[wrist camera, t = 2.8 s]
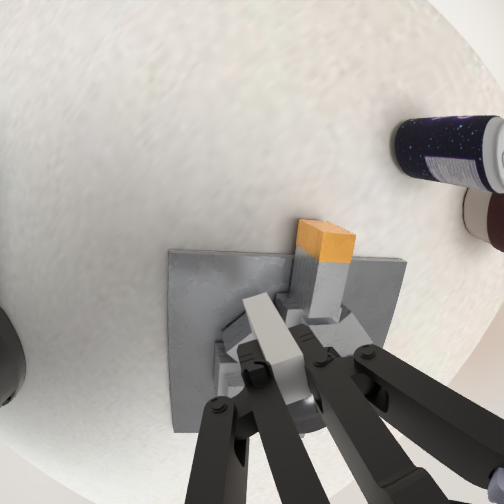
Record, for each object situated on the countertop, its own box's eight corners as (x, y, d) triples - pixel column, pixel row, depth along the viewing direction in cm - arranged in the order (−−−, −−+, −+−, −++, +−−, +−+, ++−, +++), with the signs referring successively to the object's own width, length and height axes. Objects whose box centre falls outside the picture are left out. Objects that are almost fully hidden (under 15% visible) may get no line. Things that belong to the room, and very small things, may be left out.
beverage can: (436, 164, 26) (532, 180, 15) (400, 186, 26) (502, 210, 15) (420, 112, 24) (519, 108, 13) (380, 130, 24) (486, 127, 13)
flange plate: (173, 426, 29) (176, 484, 21) (170, 210, 23) (164, 235, 15) (364, 406, 34) (394, 447, 27) (419, 231, 28) (475, 254, 21)
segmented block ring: (211, 415, 28) (217, 449, 24) (225, 213, 22) (235, 226, 18) (336, 403, 31) (353, 430, 27) (383, 227, 26) (416, 240, 21)
